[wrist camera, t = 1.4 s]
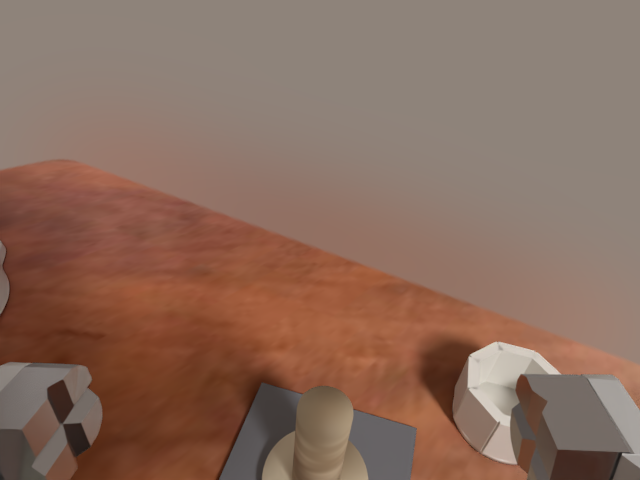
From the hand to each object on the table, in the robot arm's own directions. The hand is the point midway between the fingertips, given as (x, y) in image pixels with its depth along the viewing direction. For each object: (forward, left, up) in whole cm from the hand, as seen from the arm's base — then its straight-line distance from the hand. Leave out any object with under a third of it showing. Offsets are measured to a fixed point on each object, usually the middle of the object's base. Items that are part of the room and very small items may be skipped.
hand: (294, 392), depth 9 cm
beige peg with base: (0, +8, -24) cm, 25 cm away
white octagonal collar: (+11, +17, -24) cm, 32 cm away
